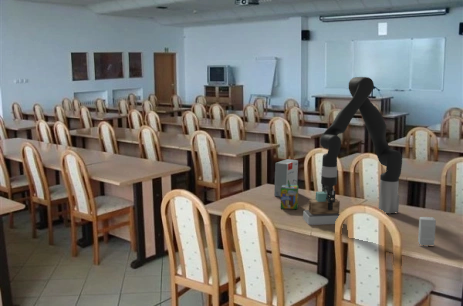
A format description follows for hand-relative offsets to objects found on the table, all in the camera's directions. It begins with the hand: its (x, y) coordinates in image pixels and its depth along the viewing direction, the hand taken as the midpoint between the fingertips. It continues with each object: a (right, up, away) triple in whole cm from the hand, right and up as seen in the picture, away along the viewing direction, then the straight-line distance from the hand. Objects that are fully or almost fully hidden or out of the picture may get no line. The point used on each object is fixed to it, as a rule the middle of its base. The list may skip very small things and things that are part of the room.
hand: (327, 207), depth 249 cm
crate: (-4, +4, -1) cm, 5 cm away
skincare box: (+36, -13, -31) cm, 49 cm away
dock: (-3, -7, +1) cm, 7 cm away
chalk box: (-16, -2, +25) cm, 30 cm away
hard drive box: (-15, +2, +51) cm, 53 cm away
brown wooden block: (-2, -2, 0) cm, 3 cm away
